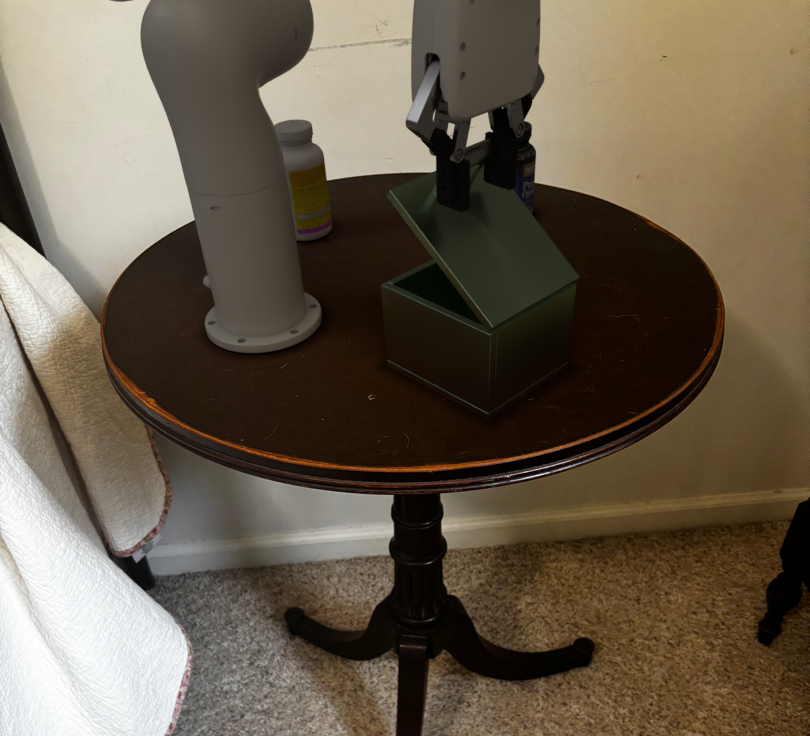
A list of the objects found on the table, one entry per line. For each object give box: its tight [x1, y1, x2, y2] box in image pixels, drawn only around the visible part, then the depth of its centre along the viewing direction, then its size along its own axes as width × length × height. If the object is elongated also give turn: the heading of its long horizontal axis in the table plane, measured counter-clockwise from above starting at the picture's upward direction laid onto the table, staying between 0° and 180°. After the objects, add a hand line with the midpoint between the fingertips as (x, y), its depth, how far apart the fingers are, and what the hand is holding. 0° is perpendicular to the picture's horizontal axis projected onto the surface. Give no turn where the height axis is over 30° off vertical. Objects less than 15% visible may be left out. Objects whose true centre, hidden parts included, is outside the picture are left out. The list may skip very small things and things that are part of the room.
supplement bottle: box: [274, 119, 333, 242], centre depth 99 cm, size 7×7×13 cm
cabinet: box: [380, 258, 578, 421], centre depth 76 cm, size 14×12×9 cm
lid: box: [386, 138, 580, 332], centre depth 67 cm, size 14×12×5 cm
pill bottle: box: [513, 120, 537, 215], centre depth 100 cm, size 6×6×11 cm
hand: (476, 193), depth 67 cm, fingers closed on lid, 5 cm apart
